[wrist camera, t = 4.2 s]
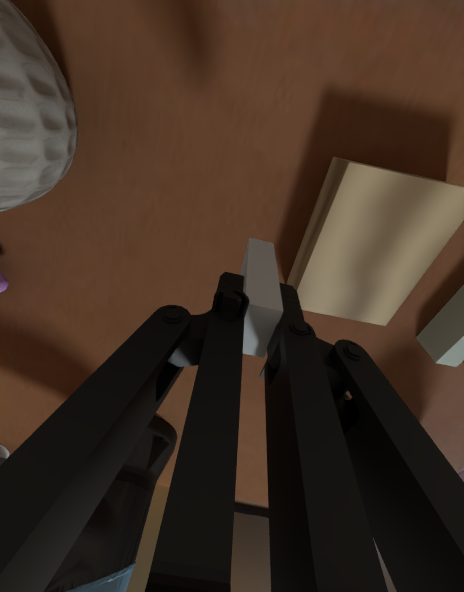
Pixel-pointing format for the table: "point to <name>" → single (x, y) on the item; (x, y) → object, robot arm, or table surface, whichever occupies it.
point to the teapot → (3, 283)
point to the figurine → (3, 452)
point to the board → (446, 332)
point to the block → (372, 240)
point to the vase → (31, 113)
